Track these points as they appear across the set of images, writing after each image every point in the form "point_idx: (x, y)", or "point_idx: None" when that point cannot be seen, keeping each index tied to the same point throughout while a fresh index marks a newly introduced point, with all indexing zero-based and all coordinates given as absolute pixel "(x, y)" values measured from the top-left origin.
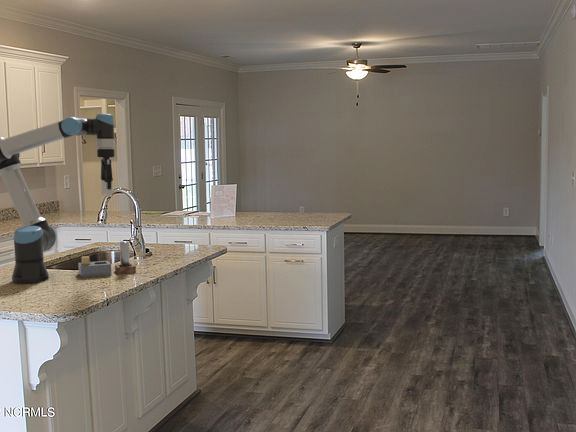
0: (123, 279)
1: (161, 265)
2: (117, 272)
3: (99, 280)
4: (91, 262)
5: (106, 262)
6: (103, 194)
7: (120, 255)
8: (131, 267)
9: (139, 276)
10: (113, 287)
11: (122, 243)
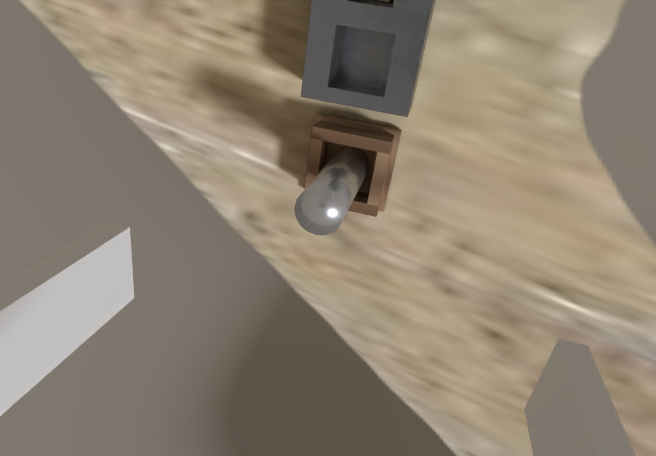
0: (262, 118)
1: (450, 341)
2: (330, 124)
3: (293, 24)
4: (409, 23)
5: (359, 93)
6: (551, 357)
7: (335, 166)
8: (306, 182)
9: (287, 189)
10: (137, 32)
11: (302, 193)
